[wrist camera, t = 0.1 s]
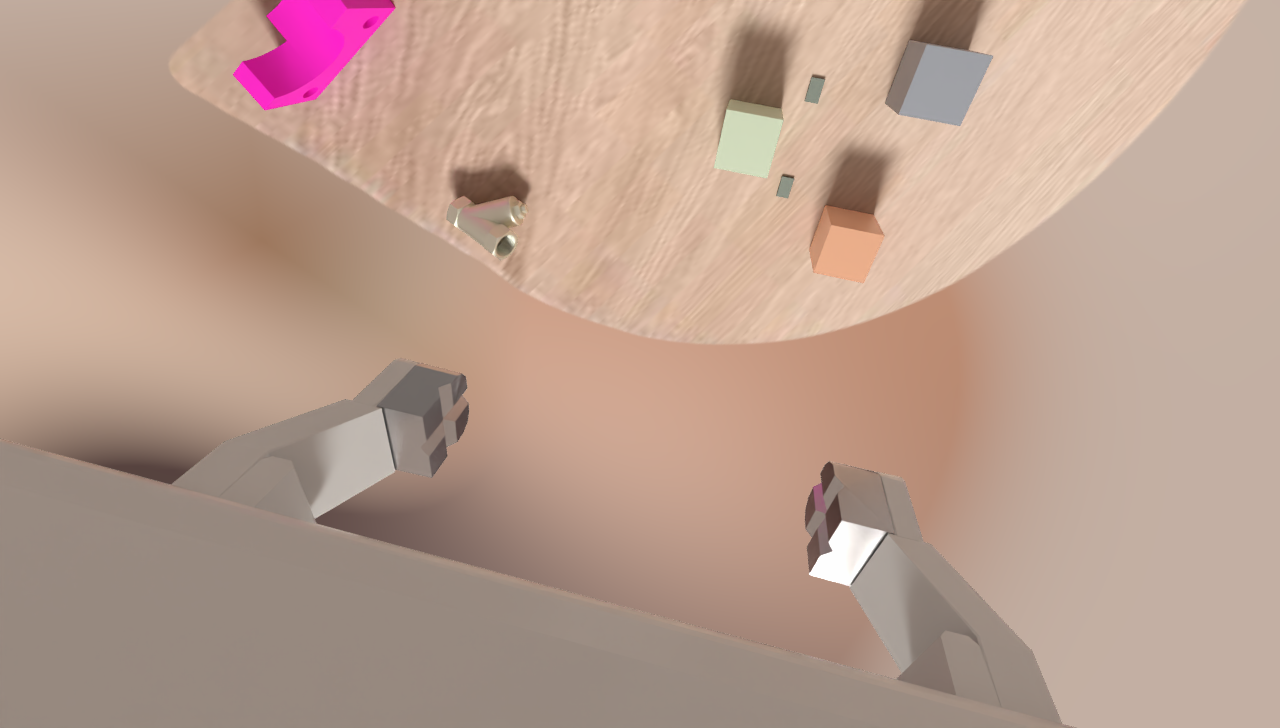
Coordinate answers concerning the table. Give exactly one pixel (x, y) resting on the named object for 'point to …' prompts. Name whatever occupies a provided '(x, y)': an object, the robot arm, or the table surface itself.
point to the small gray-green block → (814, 90)
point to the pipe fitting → (489, 222)
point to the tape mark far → (785, 187)
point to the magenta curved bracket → (310, 48)
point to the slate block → (937, 82)
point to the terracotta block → (845, 244)
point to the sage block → (749, 138)
